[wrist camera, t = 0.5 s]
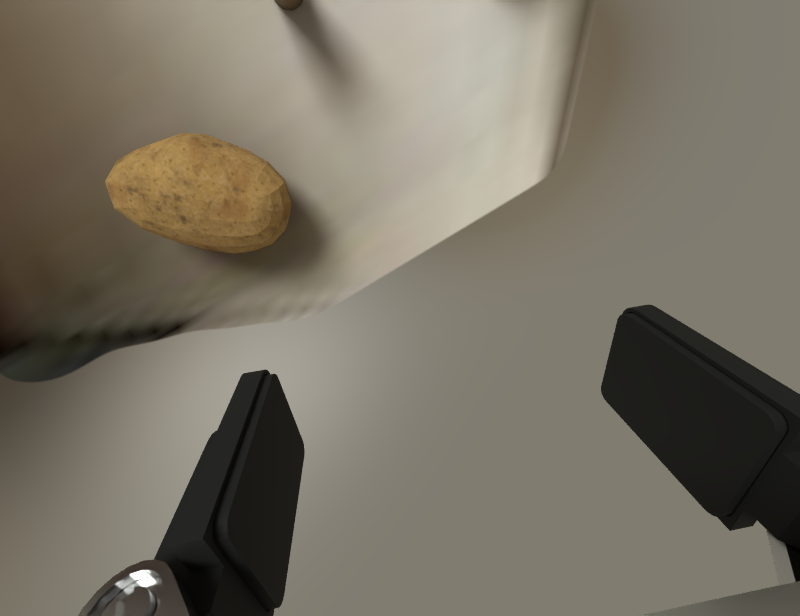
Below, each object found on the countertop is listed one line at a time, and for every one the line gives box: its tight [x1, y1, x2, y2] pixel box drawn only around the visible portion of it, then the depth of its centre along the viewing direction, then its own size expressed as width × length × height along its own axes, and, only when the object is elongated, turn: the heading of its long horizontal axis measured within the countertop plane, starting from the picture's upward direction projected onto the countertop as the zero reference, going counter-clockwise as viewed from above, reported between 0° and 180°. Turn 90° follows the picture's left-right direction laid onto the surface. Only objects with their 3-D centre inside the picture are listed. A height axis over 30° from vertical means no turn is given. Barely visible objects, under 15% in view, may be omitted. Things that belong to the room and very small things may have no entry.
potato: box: [105, 133, 292, 254], centre depth 29 cm, size 10×14×8 cm
